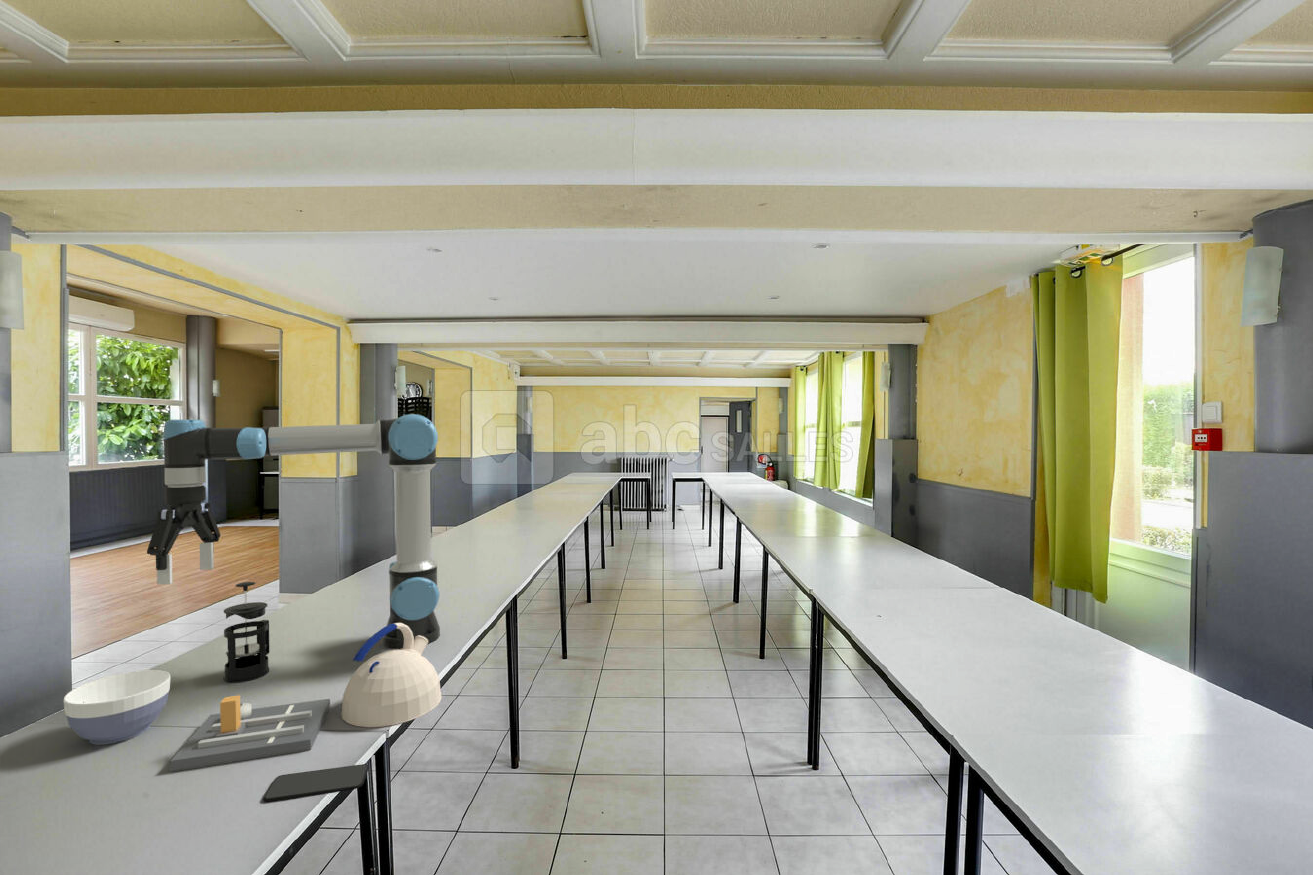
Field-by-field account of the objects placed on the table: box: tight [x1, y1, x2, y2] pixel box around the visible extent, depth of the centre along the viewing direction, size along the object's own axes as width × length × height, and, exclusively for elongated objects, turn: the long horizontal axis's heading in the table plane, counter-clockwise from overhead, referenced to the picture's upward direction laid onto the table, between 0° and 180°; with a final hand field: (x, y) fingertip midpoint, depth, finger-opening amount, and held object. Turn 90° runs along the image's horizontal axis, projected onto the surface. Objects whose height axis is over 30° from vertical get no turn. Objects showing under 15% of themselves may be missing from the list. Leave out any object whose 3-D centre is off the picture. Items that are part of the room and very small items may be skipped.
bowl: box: [63, 669, 171, 746], centre depth 119 cm, size 16×16×10 cm
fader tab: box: [215, 694, 246, 738], centre depth 114 cm, size 4×4×7 cm
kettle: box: [340, 623, 442, 728], centre depth 131 cm, size 20×21×18 cm
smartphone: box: [262, 763, 370, 804], centre depth 102 cm, size 7×1×15 cm
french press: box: [223, 581, 271, 684], centre depth 148 cm, size 12×9×23 cm
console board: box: [170, 698, 331, 773], centre depth 118 cm, size 22×18×4 cm
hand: (186, 576), depth 138 cm, fingers open, 13 cm apart
